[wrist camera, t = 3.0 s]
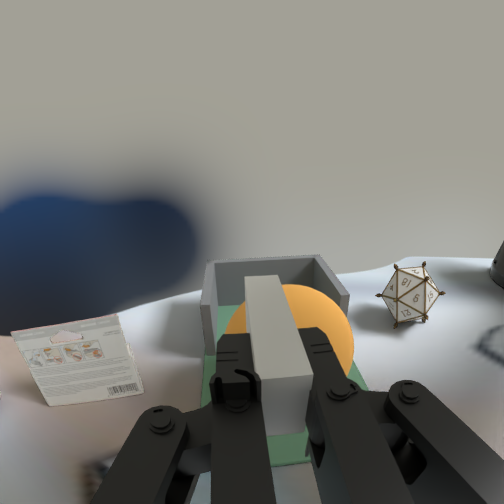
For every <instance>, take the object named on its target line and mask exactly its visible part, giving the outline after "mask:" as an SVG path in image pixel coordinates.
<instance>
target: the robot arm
mask: <svg viewBox="0 0 504 504" xmlns="http://www.w3.org/2000/svg"><path fill="white" fill-rule="evenodd" d="M490 275H491V277H492V279H493V280H494V281H495V282H496V283H497V284H499V285H500V286H502V287H503V288H504V241H503V243H502V245H501V247H500V249H499V251H498V253H497V255H496V257H495V259H494V260H493V262H492V266H491V270H490ZM245 307H246V330H247V333H238V334H223V335H222V336H221V337H220V339H219V340H218V342H217V349H216V373H215V374H214V375H213V376H211V379H210V382H209V387H210V394H211V401H210V402H209V403H208V404H207V405H205V406H204V407H202V408H200V409H197V410H194V411H190V412H186V413H182V412H181V411H179V410H178V409H176V408H174V407H171V406H156V407H152V408H150V409H148V410H146V411H145V412H144V413H143V414H142V415H141V416H140V417H139V419H138V421H137V422H136V424H135V426H134V427H133V429H132V431H131V433H130V434H129V436H128V438H127V440H126V441H125V443H124V445H123V446H122V448H121V450H120V452H119V453H118V455H117V457H116V459H115V460H114V462H113V464H112V466H111V467H110V469H109V471H108V473H107V474H106V476H105V478H104V480H103V481H102V483H101V485H100V487H99V488H98V490H97V492H96V494H95V495H94V497H93V499H92V501H91V503H90V504H190V501H191V498H192V495H193V493H194V490H195V487H196V484H197V481H198V478H199V476H200V474H201V473H205V472H208V471H211V504H276V498H275V492H274V485H273V478H272V472H271V465H270V458H269V451H268V444H267V437H266V436H274V435H284V434H293V433H300V432H304V431H305V425H306V426H307V430H308V433H309V435H308V440H307V445H306V449H305V457H308V455H309V454H310V458H311V462H312V466H313V470H314V474H315V478H316V482H317V486H318V490H319V494H320V498H321V502H322V504H504V460H503V459H502V458H501V457H500V456H499V455H498V454H497V453H496V452H495V451H493V450H492V449H491V448H490V447H489V446H488V445H487V444H486V443H485V442H484V441H483V440H482V439H481V438H480V437H479V436H478V435H476V434H475V433H474V432H473V431H472V430H471V429H470V428H469V427H468V426H467V425H466V424H465V423H464V422H463V421H462V420H460V419H459V418H458V417H457V416H456V415H455V414H454V413H453V412H452V411H451V410H450V409H449V408H447V407H446V406H445V405H444V404H443V403H442V402H441V401H440V400H439V399H438V398H437V397H436V396H434V395H433V394H432V393H431V392H430V391H429V390H428V389H427V388H426V387H425V386H423V385H422V384H420V383H418V382H415V381H412V380H402V381H399V382H396V383H395V384H393V385H392V386H391V388H390V390H389V392H376V391H366V390H363V389H361V388H360V386H359V385H358V384H357V383H356V382H354V381H353V380H351V379H348V378H347V377H346V375H345V372H344V370H343V368H342V366H341V364H340V362H339V360H338V358H337V356H336V353H335V352H334V349H333V347H332V345H331V344H330V341H329V339H328V337H327V335H326V333H324V332H323V331H322V330H321V329H319V328H318V327H310V328H299V329H297V326H296V324H295V321H294V318H293V315H292V312H291V310H290V307H289V304H288V301H287V299H286V296H285V293H284V290H283V288H282V285H281V282H280V280H279V277H278V275H266V276H246V277H245Z"/></svg>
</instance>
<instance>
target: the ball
mask: <svg viewBox="0 0 504 504" xmlns="http://www.w3.org/2000/svg"><path fill="white" fill-rule="evenodd" d="M282 288H283V290H284V293H285V296H286V299H287V301H288V304H289V307H290V310H291V312H292V315H293V318H294V321H295V324H296V326H297V329H299V328H310V327H318V328H319V329H321V330H322V331H323V332H324V333H326V335H327V337H328V339H329V341H330V344H331V345H332V347H333V349H334V352H335V353H336V356H337V358H338V360H339V362H340V364H341V366H342V368H343V370H344V372H345V375H346V377H347V375H348V373H349V371H350V368H351V365H352V361H353V354H354V340H353V334H352V330H351V327H350V324H349V322H348V320H347V318H346V316H345V314H344V313H343V311H342V310H341V309H340V307H339V306H338V305H337V304H336V303H335V302H334V301H333V300H332V299H330V298H329V297H328V296H326V295H325V294H323V293H322V292H320V291H317V290H315V289H313V288H310V287H307V286H302V285H294V284H285V285H282ZM238 333H247V330H246V307H245V301H244V302H243V303H242V304H241V305H240V306H239V308H238V309H237V310H236V311H235V313H234V314H233V316H232V317H231V319H230V321H229V323H228V325H227V328H226V331H225V334H238Z"/></svg>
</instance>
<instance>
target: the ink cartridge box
mask: <svg viewBox="0 0 504 504" xmlns="http://www.w3.org/2000/svg"><path fill="white" fill-rule="evenodd" d="M62 330H64V331H69V332H74V333H79V334H81V335H82V337H83V338H81V339H76V340H70V341H63V342H56V343H52V342H51V340H50V338H51V337H53V336H54V335H56V334H57V333H58V332H60V331H62ZM11 334H12V336H13V338H14V340H15V342H16V344H17V346H18V348H19V350H20V352H21V354H22V356H23V357H24V359H25V361H26V363H27V365H28V366H29V368H30V373H31V375H32V377H33V379H34V380H35V382H36V384H37V386H38V388H39V390H40V392H41V393H42V395H43V397H44V399H45V401H46V402H47V404H48V405H49V406H61V405H71V404H80V403H87V402H95V401H102V400H109V399H115V398H121V397H127V396H133V395H138V394H143V393H144V389H143V385H142V380H141V377H140V374H139V371H138V368H137V365H136V362H135V359H134V355H133V352H132V349H131V346H130V344H129V343H127V344H126V342H125V338H124V335H123V331H122V329H121V325H120V322H119V317H118V314H114V315H109V316H103V317H98V318H92V319H87V320H81V321H75V322H69V323H63V324H58V325H51V326H45V327H38V328H32V329H26V330H19V331H12V332H11Z"/></svg>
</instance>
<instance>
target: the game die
mask: <svg viewBox="0 0 504 504" xmlns="http://www.w3.org/2000/svg"><path fill="white" fill-rule="evenodd" d="M425 265H426V261H425V262H423V264H422V267H412V268H401V269H398V266H397V265H396V264H394V268H395V269H396V271H395V273H394V275H393V276H392V278H391V280H390V281H389V283H388V285H387V286H386V288H385V290H384V291H383V293H382V294H380V293H379V294H377V295H375V296H377V297H382V298H383V300H384V301H385V303H386V305H387V307H388V308H389V310H390V312H391V314H392V315H393V317H394V319H395V321H396V323H395V324H394V328H396V327H397V325H398V323H401V322H407V321H412V320H418V319H422V322H424V323H425V321H426V320H425V319H427V320H428V316H427V315H426V314H427V312H428V311H429V309H430V308H431V307H432V305H433V304H434V302H435V301H436V299H437V298H438V296H439V295H444V294H445V292H442V291H441V292H439V290H438V289H437V287H436V286H435V284H434V282H433V281H432V279H431V277H430V276H429V274H428V273H427V271H426V270H425V268H424V267H425Z"/></svg>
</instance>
